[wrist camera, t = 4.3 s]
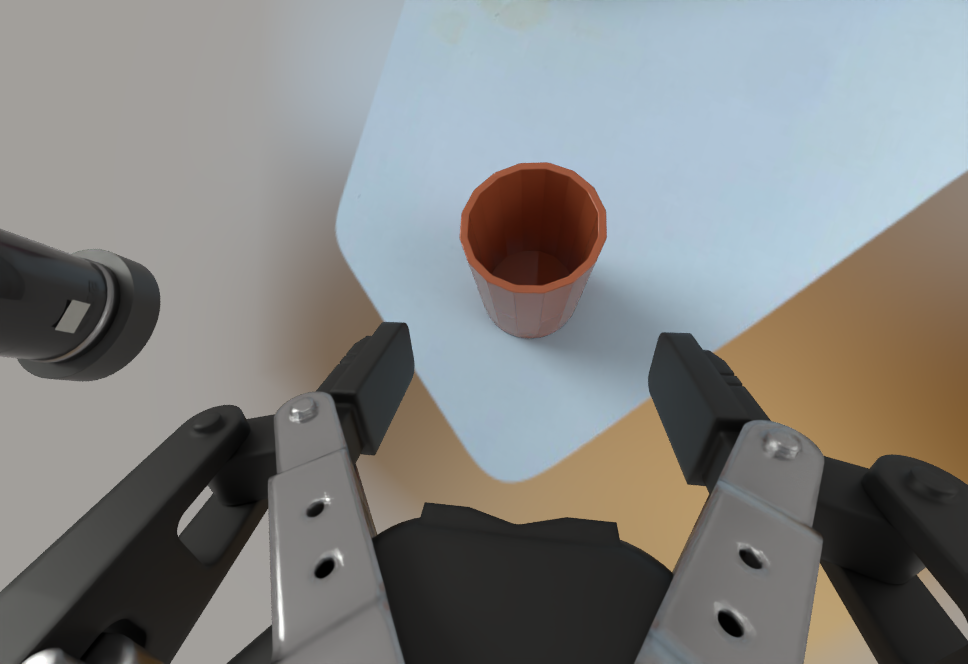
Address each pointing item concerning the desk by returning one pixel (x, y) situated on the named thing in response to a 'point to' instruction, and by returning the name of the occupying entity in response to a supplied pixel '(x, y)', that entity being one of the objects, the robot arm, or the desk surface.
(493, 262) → the cup
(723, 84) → the desk surface
